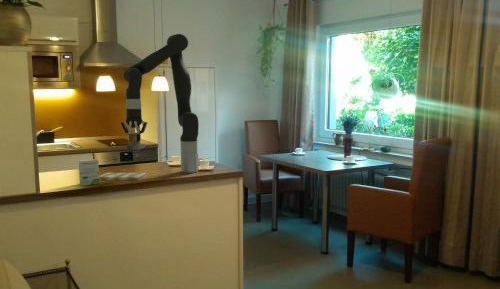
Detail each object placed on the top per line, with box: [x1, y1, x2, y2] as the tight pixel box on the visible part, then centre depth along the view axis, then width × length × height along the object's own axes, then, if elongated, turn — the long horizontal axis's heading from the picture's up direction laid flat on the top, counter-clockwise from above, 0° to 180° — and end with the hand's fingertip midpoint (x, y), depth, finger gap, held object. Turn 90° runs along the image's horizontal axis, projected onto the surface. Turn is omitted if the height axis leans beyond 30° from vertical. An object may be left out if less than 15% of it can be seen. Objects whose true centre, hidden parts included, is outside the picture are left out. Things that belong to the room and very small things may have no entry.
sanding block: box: [124, 132, 146, 151], centre depth 231 cm, size 7×11×8 cm, turn 176°
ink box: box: [78, 159, 100, 186], centre depth 218 cm, size 8×5×12 cm, turn 119°
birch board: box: [99, 172, 148, 181], centre depth 234 cm, size 22×13×2 cm, turn 86°
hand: (134, 141), depth 231 cm, fingers closed on sanding block, 3 cm apart
